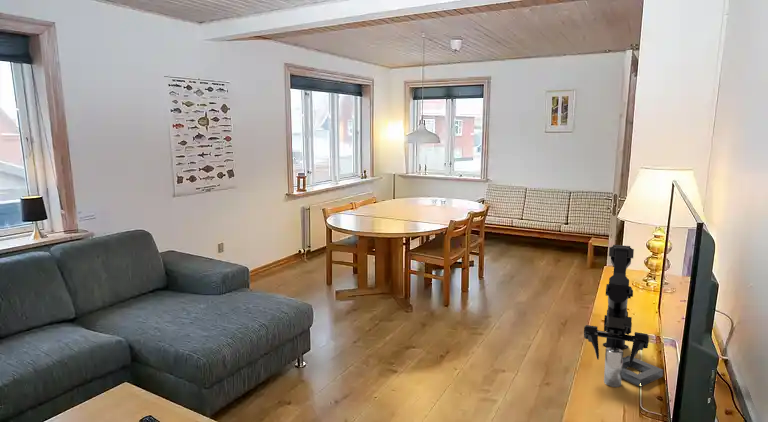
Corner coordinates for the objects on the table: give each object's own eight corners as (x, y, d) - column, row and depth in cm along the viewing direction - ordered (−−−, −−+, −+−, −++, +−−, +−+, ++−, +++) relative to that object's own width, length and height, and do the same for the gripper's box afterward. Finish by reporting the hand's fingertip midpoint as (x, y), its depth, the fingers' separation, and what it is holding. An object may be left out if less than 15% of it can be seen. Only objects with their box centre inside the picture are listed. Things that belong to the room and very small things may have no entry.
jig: (628, 362, 168) (629, 355, 168) (662, 376, 158) (663, 369, 158) (606, 371, 163) (606, 364, 162) (639, 387, 152) (640, 379, 152)
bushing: (610, 377, 159) (612, 345, 157) (624, 384, 154) (626, 351, 152) (600, 381, 156) (602, 349, 154) (614, 388, 152) (616, 355, 150)
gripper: (585, 301, 159) (581, 346, 151) (650, 309, 151) (649, 358, 143) (586, 316, 167) (582, 359, 159) (648, 324, 159) (646, 371, 151)
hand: (613, 361), depth 153 cm, fingers open, 9 cm apart
